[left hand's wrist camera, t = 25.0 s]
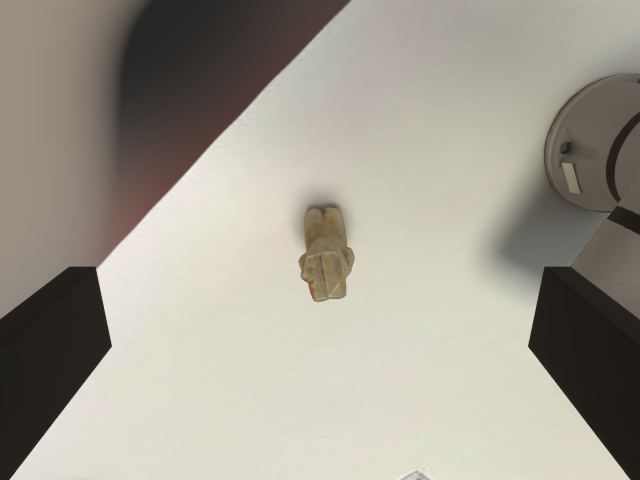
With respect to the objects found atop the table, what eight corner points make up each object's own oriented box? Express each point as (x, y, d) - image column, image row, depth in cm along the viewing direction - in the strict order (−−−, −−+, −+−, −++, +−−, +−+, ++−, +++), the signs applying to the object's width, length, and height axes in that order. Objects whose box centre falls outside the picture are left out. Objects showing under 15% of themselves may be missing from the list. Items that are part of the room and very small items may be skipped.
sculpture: (347, 202, 52) (357, 249, 38) (350, 257, 55) (361, 319, 41) (299, 206, 52) (292, 254, 38) (304, 260, 55) (299, 323, 41)
